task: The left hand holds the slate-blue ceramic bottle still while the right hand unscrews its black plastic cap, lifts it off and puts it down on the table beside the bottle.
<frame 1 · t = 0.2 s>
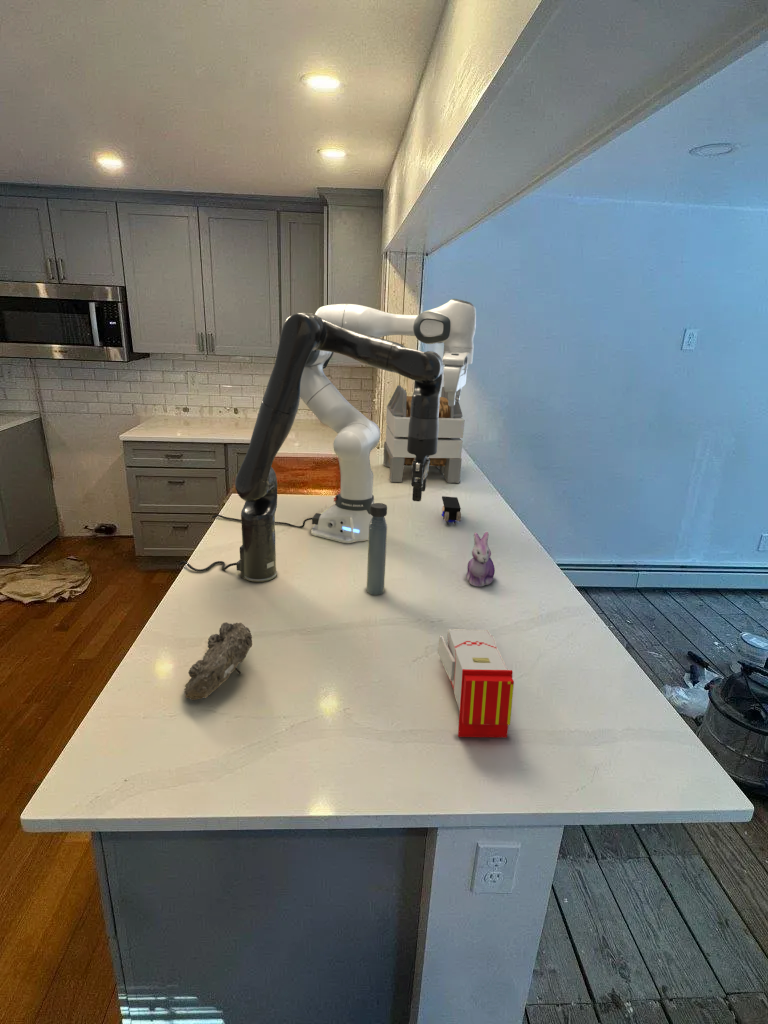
left hand: (418, 495, 147), 29 cm above the counter, tool pointing down, fingers open, 8 cm apart
right hand: (454, 403, 174), 48 cm above the counter, tool pointing down, fingers open, 8 cm apart
transformer: (419, 473, 275), on the counter
toy: (469, 691, 119), on the counter
fossil: (223, 672, 121), on the counter
cap: (378, 506, 151), point 25 cm above the counter, screwed on, not yet turned
figurine character: (450, 520, 215), on the counter
figurine: (479, 580, 168), on the counter
bottle: (375, 590, 159), on the counter
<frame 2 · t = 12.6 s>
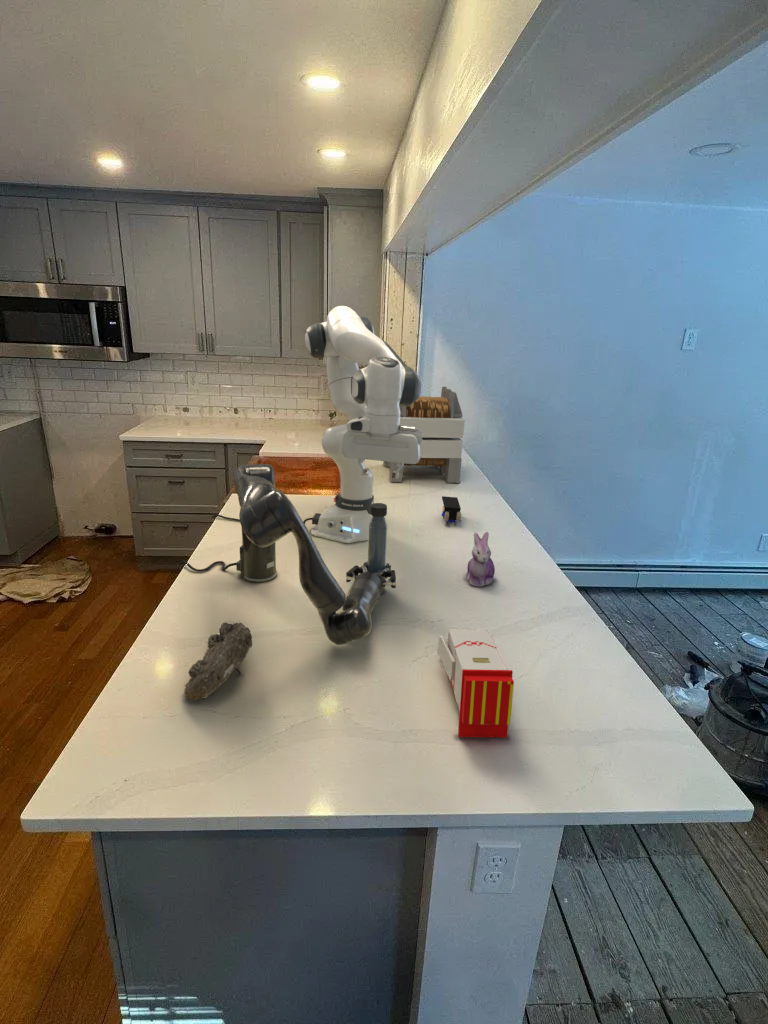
left hand: (378, 565, 159), 7 cm above the counter, tool horizontal, fingers closed on bottle, 5 cm apart
right hand: (380, 476, 148), 33 cm above the counter, tool pointing down, fingers open, 7 cm apart
bottle: (375, 590, 159), on the counter, touching left hand
everything else where it was.
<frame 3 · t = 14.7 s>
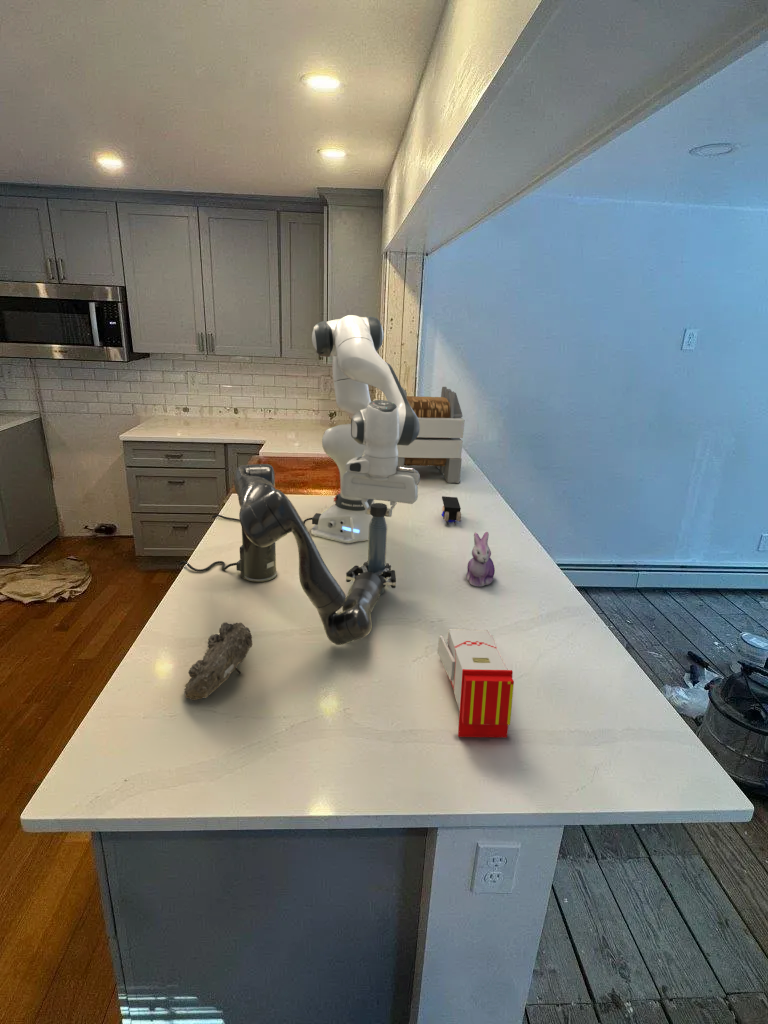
left hand: (378, 565, 159), 7 cm above the counter, tool horizontal, fingers closed on bottle, 5 cm apart
right hand: (378, 514, 151), 23 cm above the counter, tool pointing down, fingers closed on cap, 4 cm apart
cap: (378, 506, 151), point 25 cm above the counter, screwed on, not yet turned, touching right hand
bottle: (375, 590, 159), on the counter, touching left hand
everything else where it was.
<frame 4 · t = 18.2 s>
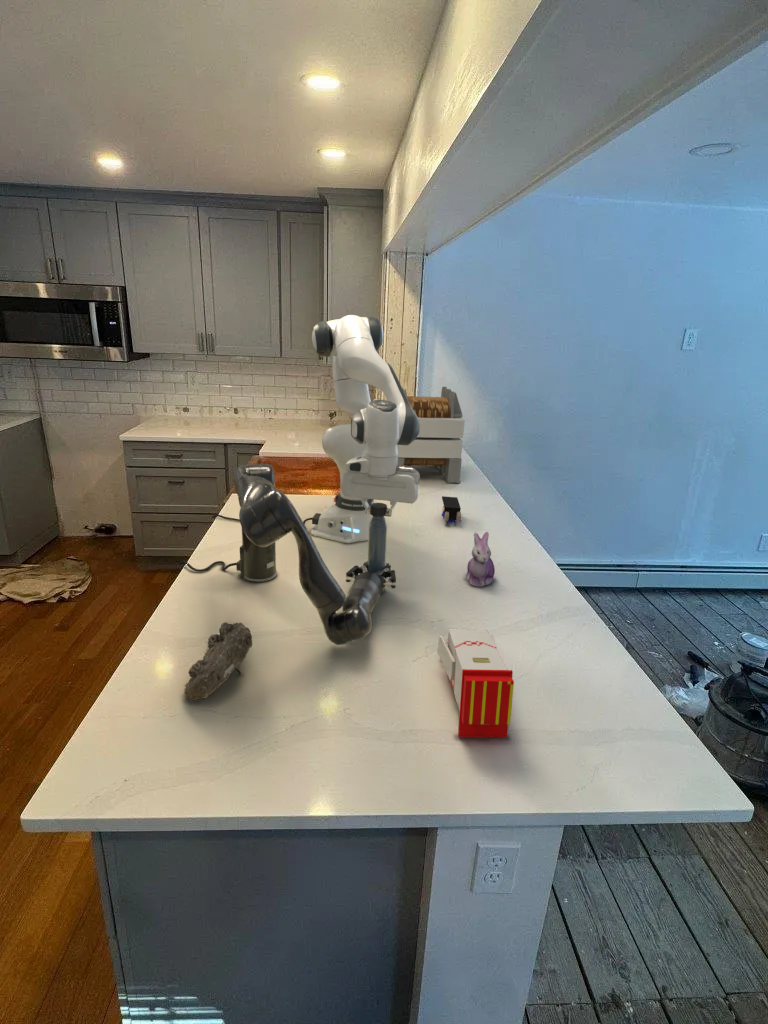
left hand: (377, 565, 159), 7 cm above the counter, tool horizontal, fingers closed on bottle, 5 cm apart
right hand: (378, 514, 151), 23 cm above the counter, tool pointing down, fingers closed on cap, 4 cm apart
cap: (378, 506, 151), point 25 cm above the counter, turned 89° so far, risen 0.1 cm, still on its thread, touching right hand
bottle: (375, 590, 159), on the counter, touching left hand
everything else where it was.
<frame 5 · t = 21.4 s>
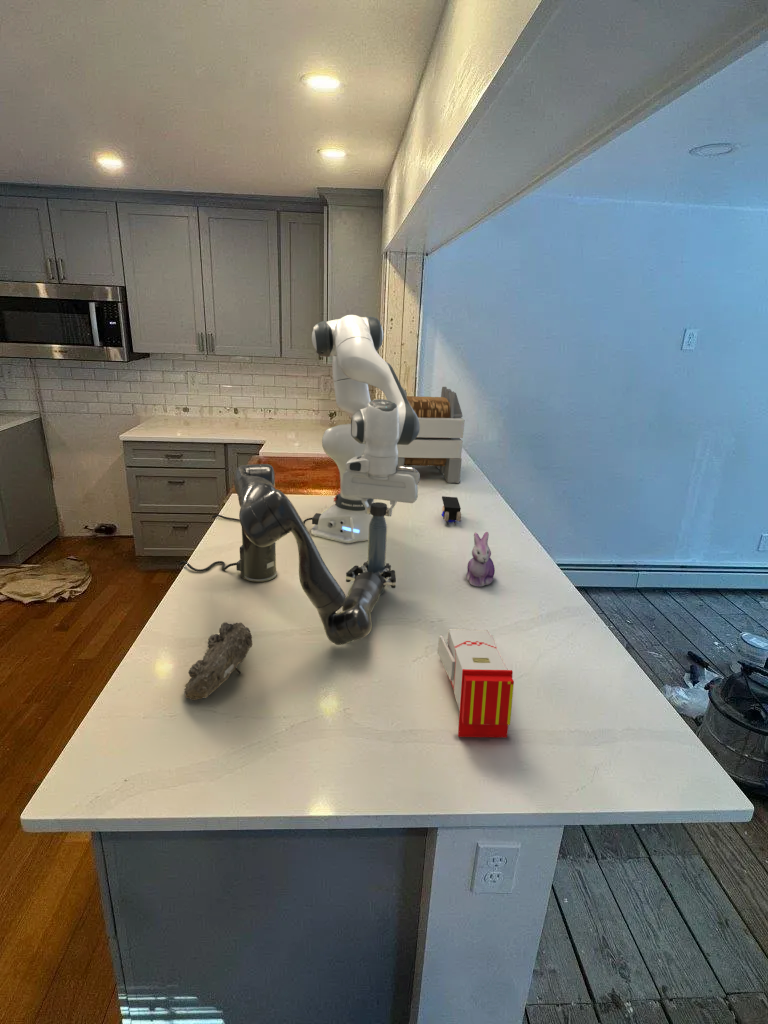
left hand: (377, 565, 159), 7 cm above the counter, tool horizontal, fingers closed on bottle, 5 cm apart
right hand: (378, 514, 151), 23 cm above the counter, tool pointing down, fingers closed on cap, 4 cm apart
cap: (378, 505, 151), point 25 cm above the counter, turned 177° so far, risen 0.2 cm, still on its thread, touching right hand
bottle: (375, 590, 159), on the counter, touching left hand
everything else where it was.
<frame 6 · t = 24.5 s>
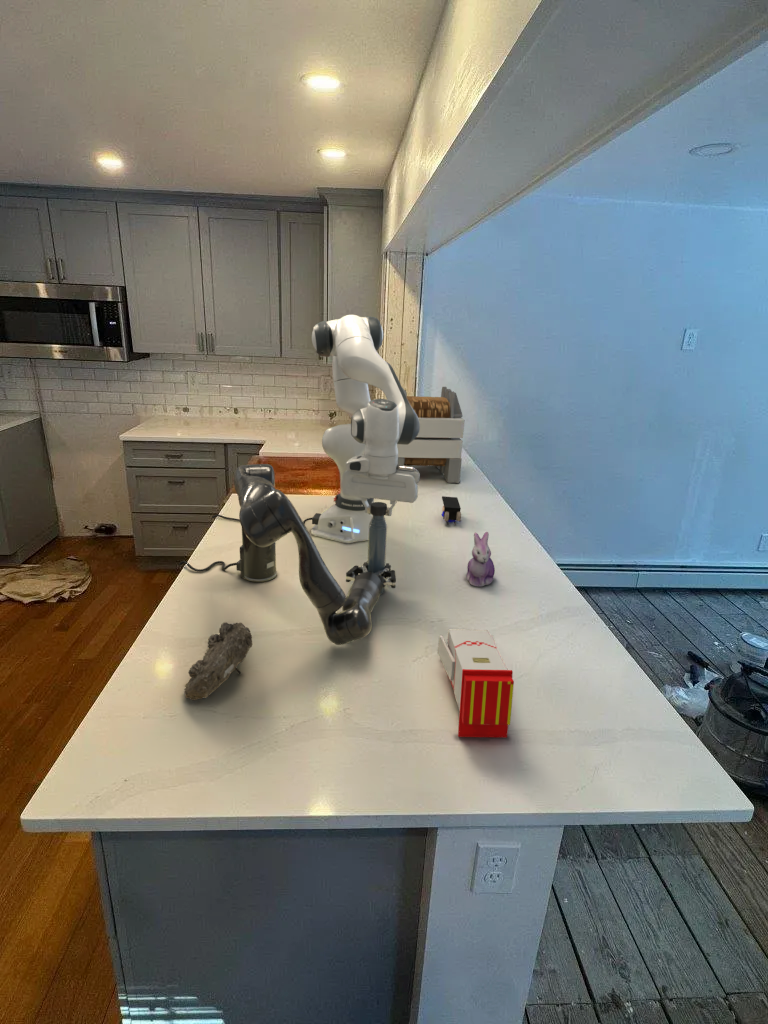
left hand: (377, 565, 159), 7 cm above the counter, tool horizontal, fingers closed on bottle, 5 cm apart
right hand: (378, 513, 151), 23 cm above the counter, tool pointing down, fingers closed on cap, 4 cm apart
cap: (378, 505, 150), point 25 cm above the counter, turned 265° so far, risen 0.3 cm, still on its thread, touching right hand
bottle: (375, 590, 159), on the counter, touching left hand
everything else where it was.
when the right hand's fingers open (2 cm above the counter, at t = 38.8 s): cap drops 2 cm, point 2 cm above the counter.
when the left hand's fingers open (7 cm above the counter, at t = 40.0 s): bottle stays where it is, on the counter.
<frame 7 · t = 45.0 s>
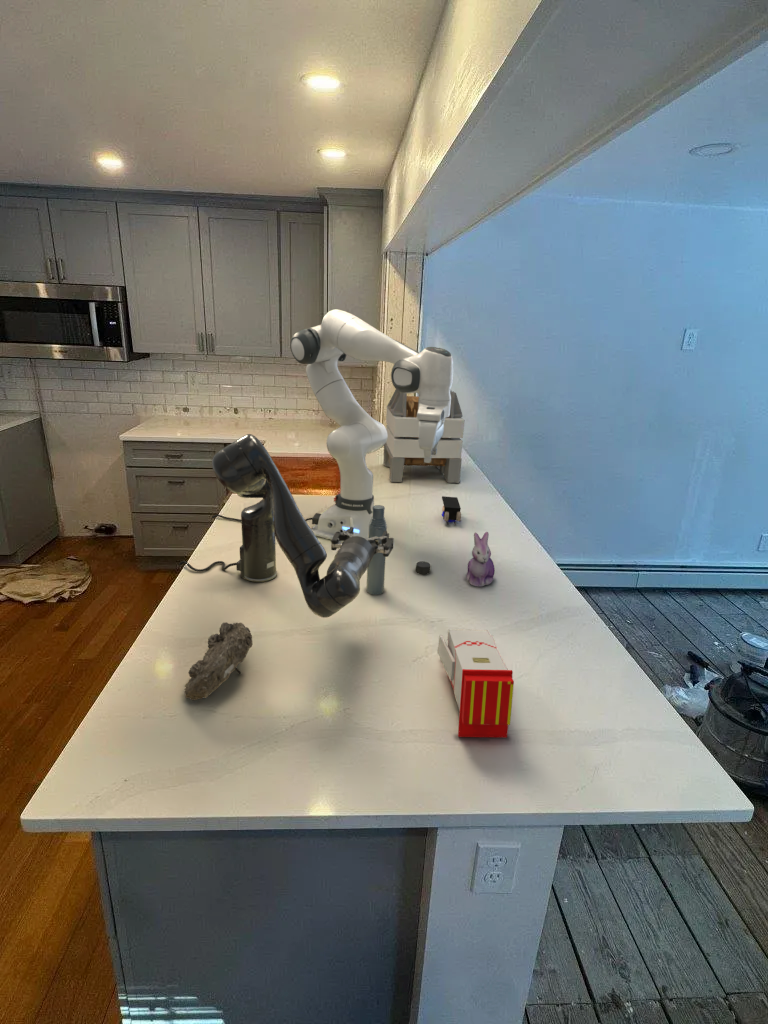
left hand: (368, 532, 141), 22 cm above the counter, tool horizontal, fingers open, 8 cm apart
right hand: (430, 458, 160), 35 cm above the counter, tool pointing down, fingers open, 8 cm apart
cap: (423, 565, 171), point 2 cm above the counter, off its thread
bottle: (375, 590, 159), on the counter
everything else where it was.
at the end: cap came off its thread; cap point 2.2 cm above the counter; the left hand is holding nothing; the right hand is holding nothing; bottle tilted 0°; bottle moved 0.1 cm from its start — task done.
